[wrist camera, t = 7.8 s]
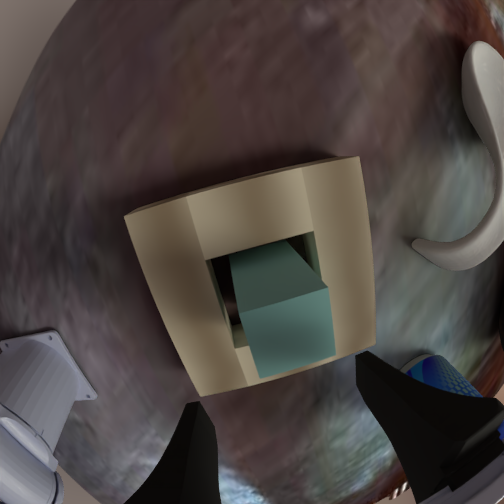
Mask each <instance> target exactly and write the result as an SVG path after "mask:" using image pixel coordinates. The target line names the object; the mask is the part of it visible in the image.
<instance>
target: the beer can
mask: <svg viewBox="0 0 504 504" xmlns="http://www.w3.org/2000/svg"><path fill="white" fill-rule="evenodd" d="M400 371H401V372H403V373H405V374H406V375H408V376H410V377H412V378H414V379H416V380H419V381H421V382H423V383H425V384H428V385H430V386H433V387H436V388H438V389H442V390H445V391H449V392H453V393H457V394H461V395H467V396H474V397H482V395H481V394H480V393H479V392H478V391H477V390H476V389H475V388H474V387H473V386H472V385H471V384H470V383H469V382H468V381H467V380H466V379H465V378H464V377H463V376H462V375H461V374H460V373H459V372H458V371H457V370H456V369H455V368H454V367H453V366H452V365H451V364H450V363H449V362H448V361H447V360H446V359H445V358H444V357H443V356H441V355H430V354H425V355H421V356H418V357H416V358H415V359H413V360H411V361H410V362H408V363H407V364H406V365H405V366H404V367H403V368H402V369H401V370H400ZM497 430H498V431H499V432H500V433H501V435H500V437H499V438H500V439H501V440H503V439H504V420H503V422H502V423H501V425H500V426H499V428H498V429H497Z"/></svg>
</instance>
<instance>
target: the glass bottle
mask: <svg viewBox="0 0 504 504" xmlns="http://www.w3.org/2000/svg"><path fill="white" fill-rule="evenodd" d="M499 333H500V340H501V344H502V348H503V351H504V297H503V301H502V305H501V310H500V317H499Z"/></svg>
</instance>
